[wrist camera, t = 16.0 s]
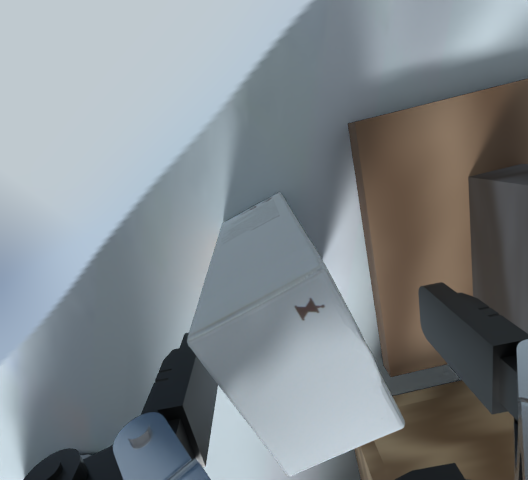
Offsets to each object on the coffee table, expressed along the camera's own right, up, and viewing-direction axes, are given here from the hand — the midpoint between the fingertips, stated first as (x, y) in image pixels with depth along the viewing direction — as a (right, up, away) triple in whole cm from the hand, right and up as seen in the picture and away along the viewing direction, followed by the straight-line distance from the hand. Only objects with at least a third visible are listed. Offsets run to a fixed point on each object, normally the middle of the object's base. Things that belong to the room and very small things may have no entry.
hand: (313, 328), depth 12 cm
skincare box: (-1, +3, +8) cm, 9 cm away
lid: (+12, +4, +8) cm, 15 cm away
